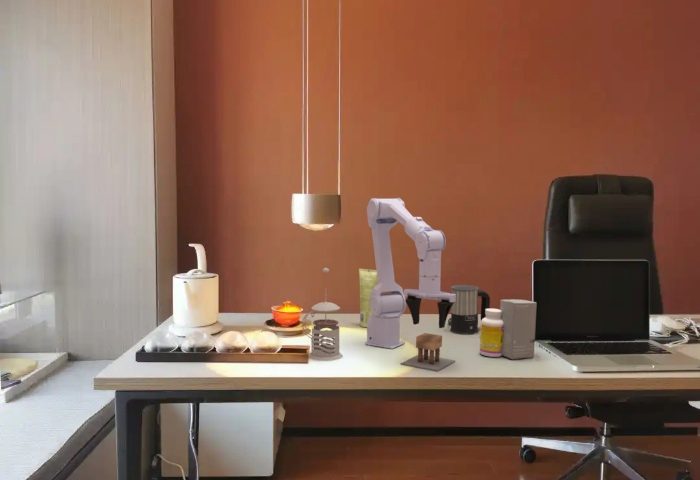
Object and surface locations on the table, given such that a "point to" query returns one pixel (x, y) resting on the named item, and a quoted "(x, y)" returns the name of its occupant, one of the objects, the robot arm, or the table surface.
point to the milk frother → (467, 309)
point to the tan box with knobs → (428, 347)
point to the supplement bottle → (491, 333)
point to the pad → (425, 364)
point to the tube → (366, 293)
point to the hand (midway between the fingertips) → (428, 325)
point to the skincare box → (518, 328)
